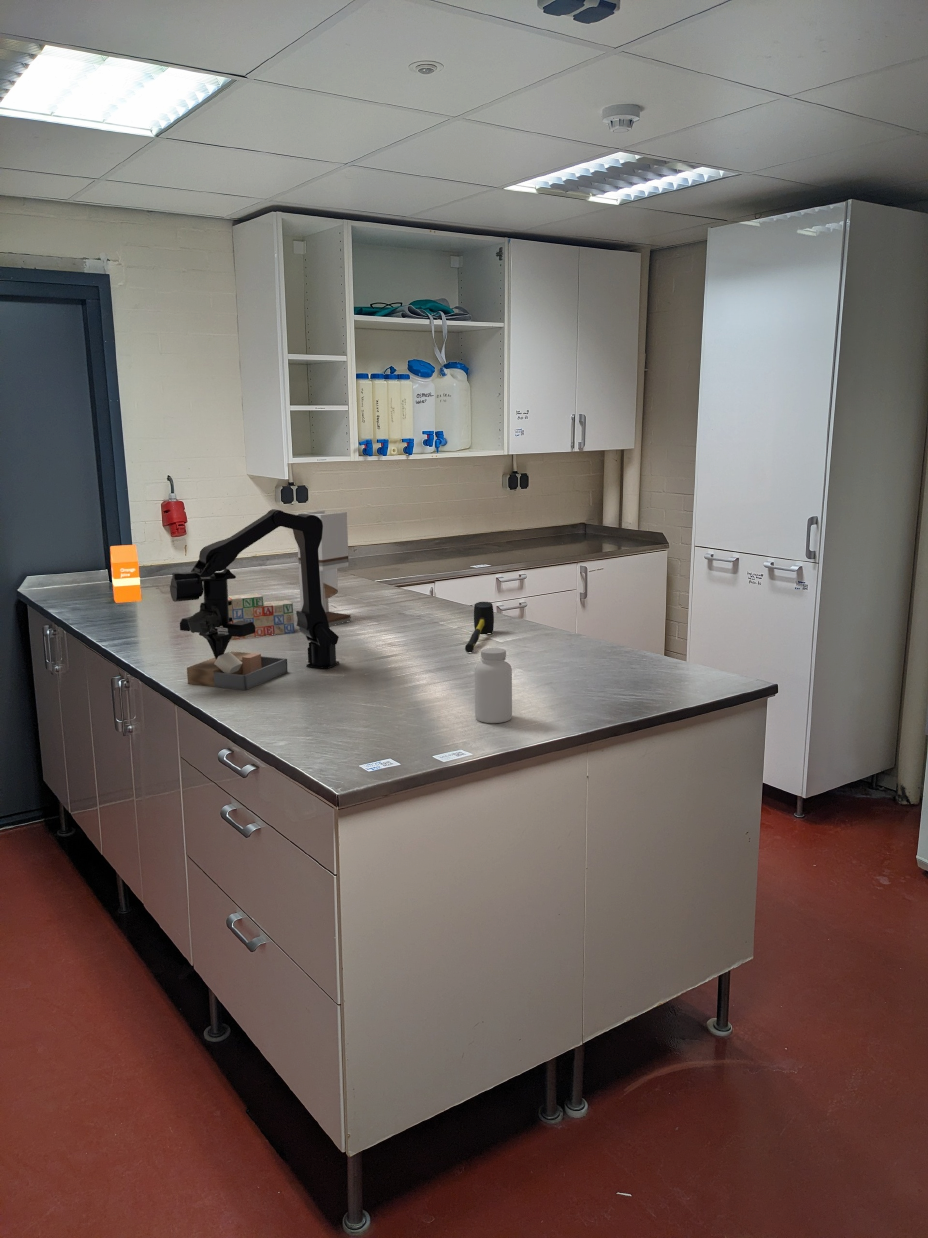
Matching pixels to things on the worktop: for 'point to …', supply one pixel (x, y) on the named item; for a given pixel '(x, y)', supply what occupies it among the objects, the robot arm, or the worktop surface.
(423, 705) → the worktop surface
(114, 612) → the worktop surface
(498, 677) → the pill bottle
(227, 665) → the tile cream
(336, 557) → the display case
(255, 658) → the tile terracotta
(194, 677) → the walnut plate
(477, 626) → the mallet
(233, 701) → the worktop surface
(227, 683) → the box
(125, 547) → the orange juice
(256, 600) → the stack of blocks
